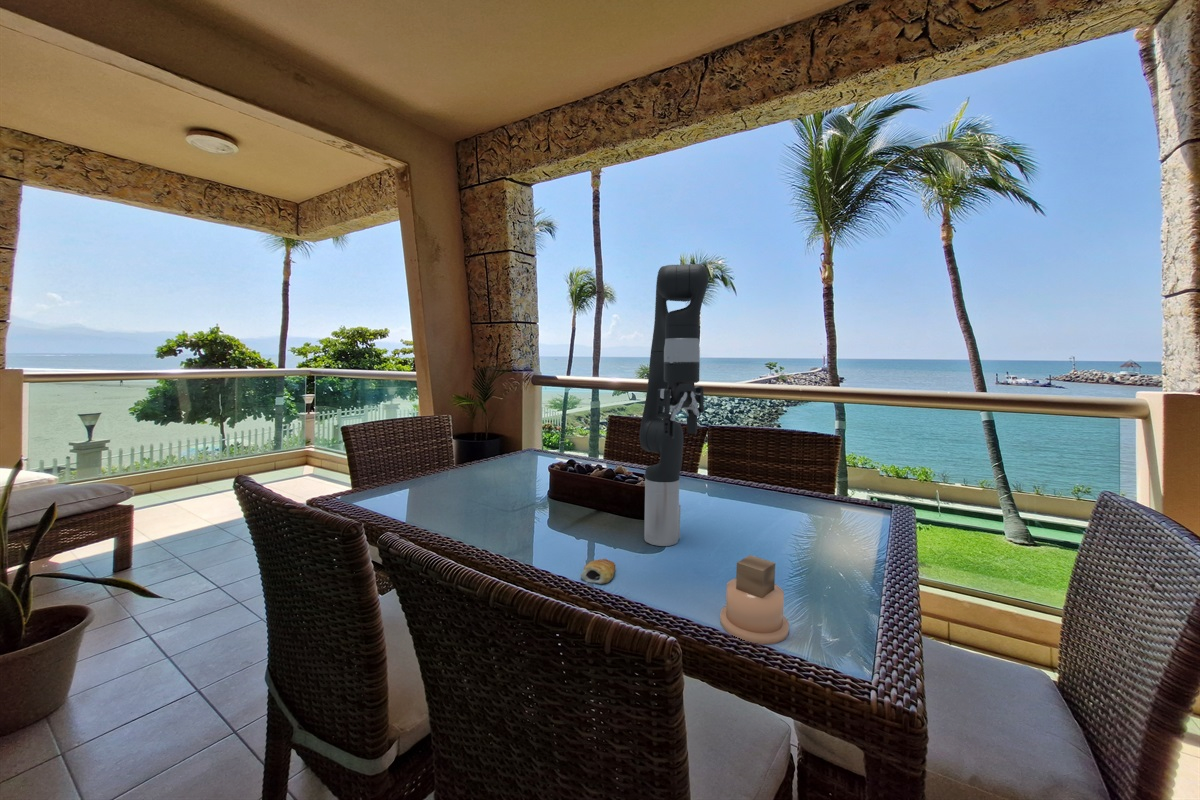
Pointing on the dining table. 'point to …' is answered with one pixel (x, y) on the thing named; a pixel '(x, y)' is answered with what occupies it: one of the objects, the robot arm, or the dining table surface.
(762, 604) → the upside-down peach bowl
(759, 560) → the walnut block
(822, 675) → the dining table surface
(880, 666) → the dining table surface
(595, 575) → the pastry
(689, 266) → the robot arm
